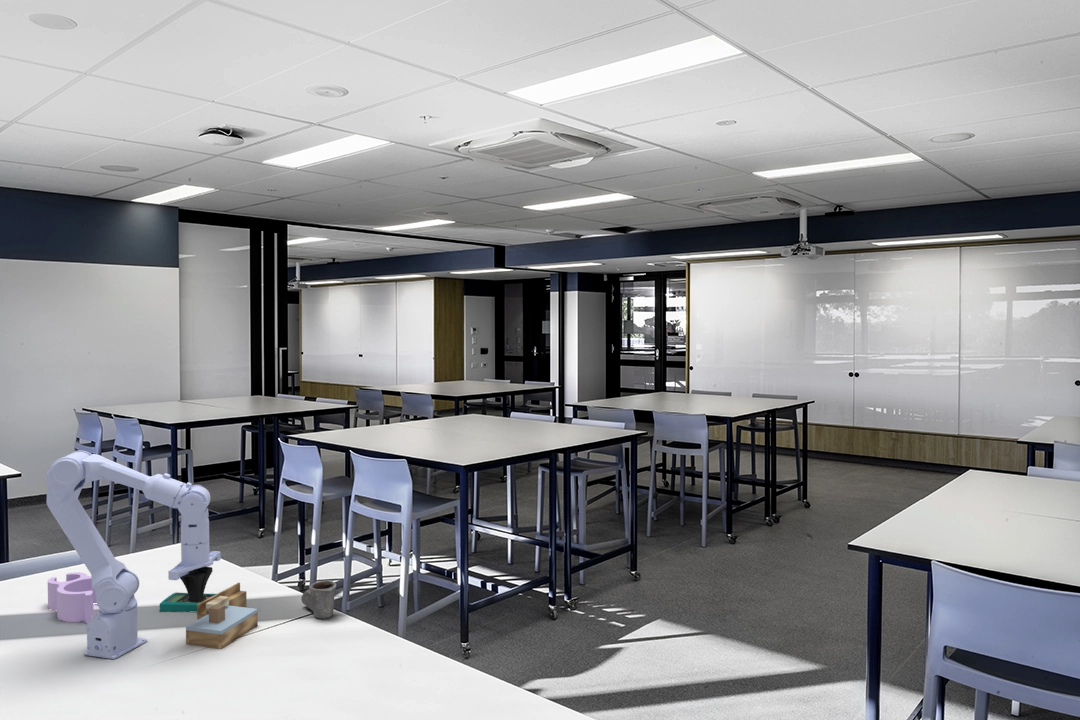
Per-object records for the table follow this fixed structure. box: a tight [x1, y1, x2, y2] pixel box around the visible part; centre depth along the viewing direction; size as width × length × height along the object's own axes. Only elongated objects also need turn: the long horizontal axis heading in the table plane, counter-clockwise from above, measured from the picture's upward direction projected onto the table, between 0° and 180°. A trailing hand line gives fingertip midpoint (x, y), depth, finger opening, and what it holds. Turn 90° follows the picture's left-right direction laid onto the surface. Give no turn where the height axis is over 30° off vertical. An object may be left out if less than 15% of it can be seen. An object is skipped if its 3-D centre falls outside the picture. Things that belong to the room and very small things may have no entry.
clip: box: [47, 571, 96, 624], centre depth 182 cm, size 20×12×7 cm, turn 60°
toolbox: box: [185, 582, 259, 650], centre depth 172 cm, size 22×11×6 cm, turn 166°
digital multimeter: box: [159, 591, 217, 612], centre depth 184 cm, size 7×15×3 cm, turn 89°
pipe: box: [300, 580, 337, 620], centre depth 181 cm, size 6×13×8 cm, turn 45°
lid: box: [185, 604, 258, 635], centre depth 168 cm, size 13×9×5 cm
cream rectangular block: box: [206, 596, 229, 612], centre depth 172 cm, size 5×2×2 cm, turn 166°
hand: (196, 601), depth 165 cm, fingers closed
